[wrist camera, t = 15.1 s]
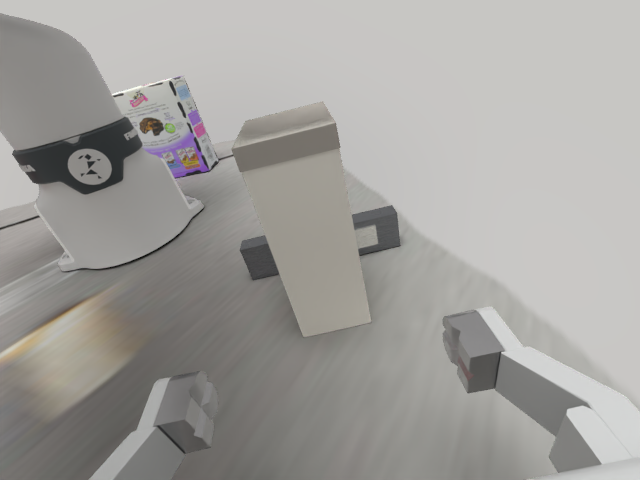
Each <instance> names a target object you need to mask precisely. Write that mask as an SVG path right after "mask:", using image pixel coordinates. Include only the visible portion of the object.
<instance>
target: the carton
mask: <svg viewBox="0 0 640 480" xmlns="http://www.w3.org/2000/svg"><path fill="white" fill-rule="evenodd" d="M339 148H340V143H339V138H338V132H337V127H336V123H335V121H334V119H333V117H332V116H331V115H330V112H329V111H328V109H327V107H326V106H325V104H324V102H319V103H315V104H311V105H307V106H303V107H299V108H295V109H291V110H287V111H283V112H280V113H275V114H272V115H268V116H264V117H260V118H256V119H252V120H248V121H245V123H244V125H243V127H242V129H241V131H240V133H239V135H238V137H237V139H236V141H235V143H234V145H233V147H232V152H233V155H234V157H235V160H236V163H237V165H238V168H239V170H240V172H242V175H243V178H244V180H245V183H246V186H247V188H248V191H249V194H250V196H251V199H252V202H253V204H254V207H255V210H256V212H257V215H258V218H259V220H260V223H261V226H262V228H263V231H264V234H265V236H266V239H267V242H268V244H269V247H270V250H271V252H272V255H273V258H274V260H275V263H276V266H277V268H278V271H279V274H280V276H281V279H282V282H283V284H284V287H285V290H286V292H287V295H288V298H289V300H290V303H291V306H292V308H293V311H294V314H295V316H296V319H297V322H298V324H299V327H300V330H301V332H302V335H303V338H304V337H309V336H313V335H318V334H322V333H327V332H331V331H336V330H340V329H345V328H349V327H354V326H358V325H363V324H367V323H372V322H371V316H370V311H369V306H368V300H367V295H366V289H365V284H364V279H363V273H362V268H361V262H360V257H359V252H358V246H357V241H356V235H355V230H354V225H353V219H352V214H351V209H350V203H349V198H348V192H347V187H346V182H345V176H344V171H343V165H342V160H341V155H340V149H339Z"/></svg>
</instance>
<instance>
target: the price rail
mask: <svg viewBox="0 0 640 480" xmlns="http://www.w3.org/2000/svg"><path fill="white" fill-rule="evenodd" d="M352 219H353V225H354V230H355V235H356V241H357V246H358V252H359V255H363V254H367V253H371V252H376V251H380V250H384V249H389V248H393V247H397V246H400V239H399V229H398V218H397V212H396V211H395V209H394V208H393V206H392V205H391V206H387V207H383V208H379V209H374V210H370V211H366V212H362V213H358V214H353V215H352ZM240 251H241V254H242V256H243V258H244V261H245V263H246V265H247V267H248V270H249V272H250V274H251V276H252V279H253V280H255V279H259V278H264V277H268V276H272V275H276V274H279V271H278V268H277V266H276V263H275V260H274V258H273V255H272V252H271V250H270V247H269V244H268V242H267V239H266V236H261V237H256V238H252V239H248V240H244V241H242V243H241V248H240Z"/></svg>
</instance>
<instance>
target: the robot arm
mask: <svg viewBox="0 0 640 480" xmlns="http://www.w3.org/2000/svg"><path fill="white" fill-rule="evenodd" d="M0 131H1V133H2V134H3V135H4V137H5V138H6V139H7V141H8V142H9V143H10V145H11V146H12V147H13V148H14V151H13V154H12V155H13V156H14V157H15V159H16V160H17V162H18V163H19V166H20V168H21V169H22V170H23V171H24V172H25V173H26V174H27V175H28V176H29V178H30V179H31V180H32V182H33V183H36V184H39V196H38V198H37V200H36V204H35V205H34V208H35V210H36V212H37V213H38V215H39V216H40V217H41V219H42V220H43V221H44V223H45V224H46V226H47V227H48V228H49V230H50V231H51V232H52V234H53V235H54V237H55V238H56V239H57V241H58V242H59V243H60V245H61V246H62V247H63V249H64V250H65V251H64V253H63V254H62V256H61V258H60V260H59V262H58V266H59V268H60V269H61V271H70V270H75V269H79V268H90V269H100V268H107V267H112V266H116V265H120V264H123V263H126V262H129V261H132V260H134V259H137V258H139V257H141V256H143V255H146V254H148V253H150V252H152V251H154V250H155V249H157V248H159V247H161V246H162V245H164V244H165V243H167V242H168V241H170V240H171V239H173V238H174V237H175V236H176V235H178V234H179V233H180V232H181V231H182V230H183V229H184V228H185V227H186V225H187V224H188V223H189V221H190V220H191V218H192V217H193V216H194V215H196V214H197V213H198V212H199V211H201V210H202V209H203V207H204V206H203V204H202V202H201V201H200V200H198V199H195V198H192V197H189V196H187V195H184V194H183V193H182V191H181V189H180V187H179V185H178V183H177V182H176V180H175V178H174V176H173V174H172V172H171V171H170V169H169V167H168V165H167V163H166V162H165V160H164V159H163V158H159V157H158V156H156V155H153V154H150V153H148V152H147V151H146V150H144V149H143V148H142V145H143V144H142V142H141V140H140V138H139V136H138V132H137V130H136V129H135V127H133V125H132V123H131V122H130V120H129V118H127V117H124V116H123V115H122V113H121V111H120V109H119V108H118V106H117V104H116V102H115V100H114V98H113V96H112V94H111V93H110V91H109V89H108V87H107V85H106V83H105V81H104V79H103V78H102V76H101V74H100V72H99V70H98V68H97V66H96V65H95V63H94V61H93V59H92V57H91V55H90V54H89V52H88V51H87V50H86V49H85V48H84V47H83V46H82V44H81V43H79V42H78V41H77V40H76V39H75V38H73V37H72V36H70V35H69V34H67V33H65V32H63V31H61V30H58V29H56V28H53V27H50V26H47V25H44V24H41V23H37V22H34V21H30V20H26V19H22V18H17V17H13V16H9V15H4V14H1V13H0ZM443 326H444V328H445V329H446V330H445V331H444V333H443V342H444V346H445V350H446V352H447V355H448V357H449V359H450V361H451V362H452V363H454V364H455V365H457V366H458V370H457V374H458V376H459V378H460V380H461V382H462V384H463V386H464V388H465V390H466V392H467V393H473V392H478V391H484V390H489V389H495V390H496V391H497V392H498V393H500V394H501V395H502V396H504V397H505V398H506V399H507V400H509V401H510V402H511V403H513V404H514V405H515V406H517V407H518V408H519V409H521V410H522V411H523V412H524V413H526V414H527V415H528V416H530V417H531V418H532V419H534V420H535V421H536V422H537V423H539V424H540V425H541V426H543V427H544V428H545V429H547V430H548V431H549V432H550V433H552V434H553V435H554V436H556V438H555V441H554V443H553V446H552V448H551V451H550V454H549V459H550V460H551V462H552V464H553V465H554V467H555V468H556V470H557V472H558V473H555V474H550V475H545V476H540V477H535V478H530V479H525V480H640V411H639V410H638V409H637V408H636V407H635V406H634V405H633V404H632V403H631V402H630V401H629V400H628V399H627V398H626V396H624V395H622V394H620V393H618V392H616V391H615V390H613V389H611V388H609V387H607V386H605V385H603V384H601V383H599V382H597V381H595V380H593V379H591V378H589V377H588V376H586V375H584V374H582V373H580V372H578V371H576V370H574V369H572V368H570V367H568V366H566V365H564V364H562V363H561V362H559V361H557V360H555V359H553V358H551V357H549V356H547V355H545V354H543V353H541V352H539V351H537V350H536V349H534V348H532V347H530V346H528V347H524V346H523V345H522V344H521V342H520V341H519V340H518V338H517V337H516V336H515V335H514V333H513V332H512V331H511V330H510V328H509V327H508V326H507V324H506V323H505V322H504V321H503V319H502V318H501V317H500V316H499V314H498V313H497V312H496V310H495V309H494V308H492V307H491V306H489V307H485V308H480V309H476V310H470V311H466V312H461V313H457V314H453V315H449V316H444V318H443ZM207 378H208V376H207V374H206V373H205V372H204V371H199V372H194V373H188V374H183V375H178V376H173V377H168V378H163V379H159V380H157V381H156V382H155V384H154V385H153V388H152V390H151V393H150V395H149V398H148V401H147V403H146V406H145V408H144V411H143V414H142V416H141V419H140V421H139V424H138V427H137V429H136V431H133V432H131V433H130V434H129V435H128V436H127V437H126V439H125V440H124V441H123V442H122V443H121V444H120V445H119V446H118V448H117V449H116V450H115V451H114V452H113V453H112V454H111V455H110V456H109V458H108V459H107V460H106V461H105V462H104V463H103V464H102V465H101V466H100V468H99V469H98V470H97V471H96V472H95V473H94V474H93V475H92V477H91V478H90V479H89V480H171V478H172V477H173V475H174V473H175V472H176V470H177V469H178V467H179V465H180V464H181V462H182V461H183V459H184V457H185V456H186V455H185V454H187V453H191V452H195V451H199V450H203V449H207V448H211V443H212V438H213V432H214V427H215V426H214V424H213V422H212V419H213V417H214V416H215V414H216V413H217V410H218V404H219V401H218V392H217V389H216V387H215V386H214V384H213V383H210V382H208V381H207Z"/></svg>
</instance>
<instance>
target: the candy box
mask: <svg viewBox="0 0 640 480" xmlns="http://www.w3.org/2000/svg"><path fill="white" fill-rule="evenodd" d="M112 96H113V98H114V100H115V102H116V104H117V106H118V108H119V109H120V111H121V113H122V115H123V116H124V117H127V118H129V120H130V122H131V123H132V125H133V127H135V129H136V130H137V132H138V136H139V138H140V140H141V142H142V144H143V145H142V148H143V149H144V150H146V151H147V152H148V153H150V154H153V155H156V156H158V157H159V158H163V159H164V160H165V162H166V163H167V165H168V167H169V169H170V171H171V172H172V174H173V176H174V178H177V177H182V176H187V175H192V174H196V173H202V172H206V171H209V170H210V169H211V168H212V167H213V166H214V165H215V164H216V163H217V162H218V158H217V156H216V153H215V151H214V148H213V146H212V144H211V141H210V139H209V136H208V134H207V132H206V129H205V127H204V124H203V122H202V119H201V117H200V115H199V112H198V110H197V107H196V105H195V102H194V100H193V98H192V95H191V93H190V90H189V88H188V86H187V83H186V81H185V78H184V76H179V77H175V78H170V79H165V80H162V81H158V82H153V83H149V84H146V85H142V86H138V87H135V88H131V89H127V90H124V91H121V92H118V93H115V94H112Z"/></svg>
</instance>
